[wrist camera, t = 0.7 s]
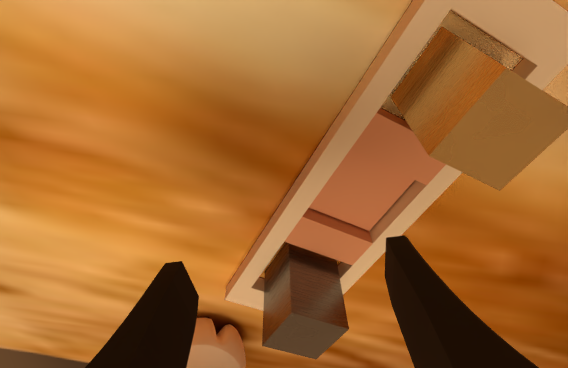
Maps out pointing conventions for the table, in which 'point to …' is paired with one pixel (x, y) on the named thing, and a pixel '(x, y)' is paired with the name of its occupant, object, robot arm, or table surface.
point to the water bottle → (216, 347)
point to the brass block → (477, 111)
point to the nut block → (302, 303)
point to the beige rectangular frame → (390, 146)
